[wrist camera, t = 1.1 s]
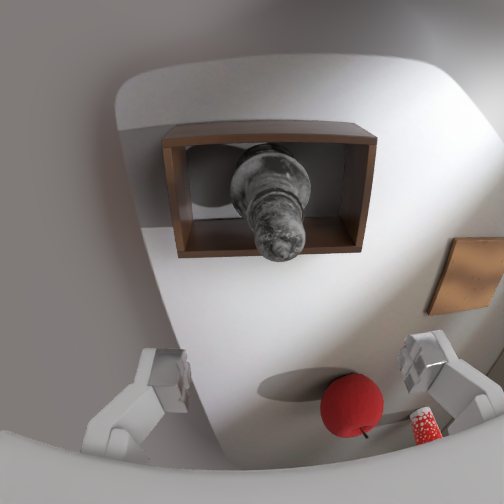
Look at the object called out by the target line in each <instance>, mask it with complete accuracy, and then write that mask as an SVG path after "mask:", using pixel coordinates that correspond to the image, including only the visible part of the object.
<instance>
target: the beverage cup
mask: <svg viewBox="0 0 504 504" xmlns="http://www.w3.org/2000/svg"><path fill="white" fill-rule="evenodd" d="M410 420H411V424H412V428H413V432H414V436H415V440H416V445H421V444H424V443H428V442H431V441H434V440H437V439H440V438H443V437H442V435H441V433H440V430H439V428H438V426H437V423H436V421H435V419H434V416H433V414H432V412H431V410H430V408H429V407H423V408H420V409H418V410H416V411H415V412H413V413H412V414H411V415H410Z"/></svg>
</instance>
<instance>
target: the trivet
mask: <svg viewBox="0 0 504 504" xmlns="http://www.w3.org/2000/svg"><path fill="white" fill-rule="evenodd" d="M503 273H504V238H454V241H453V244H452V247H451V250H450V253H449V256H448V259H447V262H446V265H445V268H444V271H443V274H442V276H441V279H440V282H439V285H438V287H437V290H436V292H435V295H434V297H433V300H432V302H431V305H430V307H429V310H428V312H427V313H428V315H429V316H431V315H438V314H445V313H451V312H458V311H464V310H470V309H476V308H482V307H487V306H488V305H489V303H490V301H491V299H492V297H493V295H494V293H495V291H496V288H497V286H498V284H499V282H500V280H501V277H502V275H503Z"/></svg>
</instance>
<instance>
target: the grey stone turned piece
mask: <svg viewBox="0 0 504 504" xmlns="http://www.w3.org/2000/svg"><path fill="white" fill-rule="evenodd" d="M310 194H311V184H310V180H309V176H308V174H307V172H306V171H305V169H304V167H303V166H302V165H301V164H300V163H299V162H298V161H297V160H295V158H294V157H293V155H292V154H291V153H290V152H288V151H287V150H286V149H284V148H282V147H280V146H277V145H272V144H263V145H259V146H256V147H253V148H251V149H250V150H248V151H247V152H245V154H244V155H243V156H242V157H241V158H240V160H239V162H238V164H237V166H236V171H235V173H234V175H233V177H232V180H231V185H230V196H231V201H232V203H233V206H234V208H235V209H236V211H237V212H238V213H239V214H240V216H242V217H243V218H244V219H246V220H247V221H248V224H249V227H250V228H251V229H252V231H253V232H254V241H255V245H256V247H257V249H258V251H259V252H260V254H261V255H262V256H264V257H265V258H266V259H268V260H271V261H275V262H285V261H288V260H291V259H293V258H295V257H296V256H297V255H298V254H299V253H300V252H301V251H302V249H303V247H304V244H305V231H304V227H303V224H302V222H303V219H304V209H305V207H306V205H307V204H308V201H309V198H310Z"/></svg>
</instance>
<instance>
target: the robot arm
mask: <svg viewBox="0 0 504 504" xmlns="http://www.w3.org/2000/svg"><path fill="white" fill-rule="evenodd" d="M404 343H405V346H404V347H403V348H402V349H401V350H400V352H399V355H398V365H399V369H400V371H401V373H403V374H404V375H405V376H406V377H405V380H404V382H405V384H406V387H407V390H408V392H409V394H414V393H419V392H424V391H427V392H428V393H429V394H430V395H431V396H432V397H433V398H434V399H435V400H436V401H437V402H438V403H439V404H440V405H441V406H442V407H443V408H444V409H445V410H446V411H448V412H449V413H450V414H451V415H452V416H453V417H454V418H455V419H456V420H455V421H454V422H453V423H452V424H451V425H450V426H449V428H448V432H449V436H447V437H444V438H440V439H437V440H434V441H431V442H428V443H424V444H421V445H417V446H414V447H410V448H406V449H403V450H399V451H395V452H390V453H386V454H382V455H377V456H372V457H367V458H362V459H357V460H351V461H345V462H339V463H332V464H325V465H317V466H309V467H299V468H287V469H272V470H243V471H224V470H222V471H220V470H195V469H181V468H169V467H158V466H151V465H149V460H150V459H149V457H148V456H147V455H146V453H145V452H144V451H143V450H142V449H141V447H140V446H139V445H140V444H141V443H142V442H143V440H144V439H145V438H146V437H147V435H148V434H149V433H150V432H151V430H152V429H153V428H154V427H155V426H156V424H157V423H158V422H159V421H160V419H161V418H162V417H163V416H164V414H165V412H176V413H188V405H189V395H188V392H187V391H188V389H189V388H190V387H191V368H190V364H189V363H188V362H187V353H186V350H182V349H162V348H144V349H143V350H142V352H141V356H140V360H139V364H138V368H137V371H136V375H135V380H134V383H133V384H129V385H128V386H127V387H126V388H125V389H124V390H122V391H121V392H120V393H119V394H118V395H117V396H116V397H115V398H114V399H113V400H112V401H111V402H110V403H108V404H107V405H106V406H105V407H104V408H103V409H102V410H101V411H100V412H99V413H98V414H97V415H96V416H94V417H93V418H92V419H91V420H90V421H89V422H88V425H87V428H86V432H85V435H84V439H83V443H82V447H81V450H80V453H79V452H75V451H70V450H67V449H63V448H59V447H56V446H52V445H49V444H45V443H42V442H39V441H36V440H33V439H29V438H27V437H24V436H21V435H18V434H16V433H13V432H10V431H7V430H1V431H0V504H504V393H503V390H502V388H501V387H500V386H499V385H498V384H496V383H495V382H493V381H492V380H491V379H489V378H488V377H486V376H485V375H483V374H482V373H481V372H479V371H478V370H476V369H475V368H473V367H472V366H471V365H469V364H468V363H466V362H465V361H463V360H462V359H460V360H459V359H458V358H457V356H456V354H455V352H454V350H453V348H452V346H451V344H450V343H449V341H448V339H447V337H446V335H445V334H444V332H443V331H442V330H437V331H431V332H423V333H417V334H411V335H408V336H407V337H406V339H405V341H404Z"/></svg>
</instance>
